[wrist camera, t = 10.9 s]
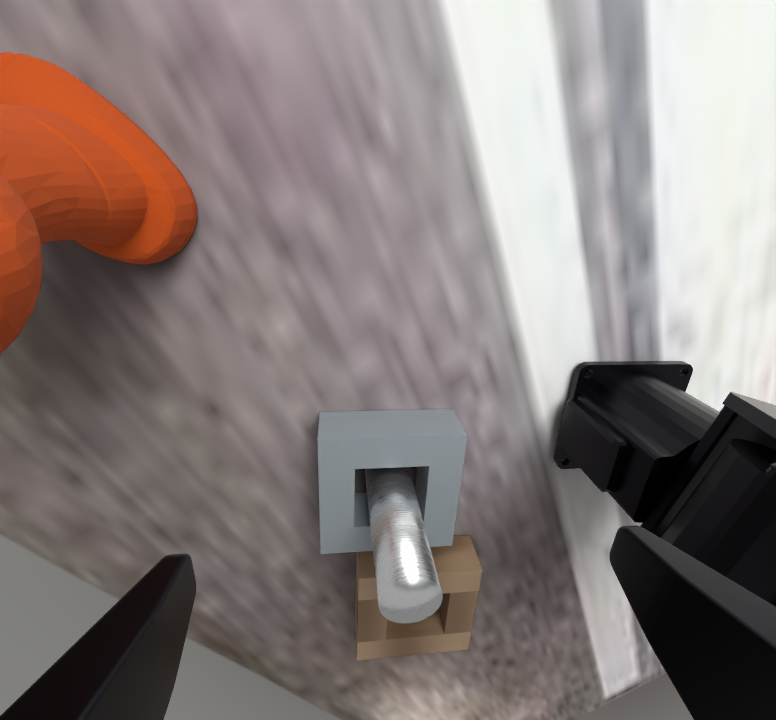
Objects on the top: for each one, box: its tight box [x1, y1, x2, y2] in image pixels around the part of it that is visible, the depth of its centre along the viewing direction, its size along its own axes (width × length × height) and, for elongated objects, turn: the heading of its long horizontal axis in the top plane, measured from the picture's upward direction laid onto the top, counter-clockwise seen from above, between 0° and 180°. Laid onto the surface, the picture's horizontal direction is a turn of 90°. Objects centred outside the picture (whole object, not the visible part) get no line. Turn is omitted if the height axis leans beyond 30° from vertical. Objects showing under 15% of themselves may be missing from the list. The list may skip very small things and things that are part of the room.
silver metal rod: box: [365, 467, 443, 623], centre depth 18 cm, size 2×2×8 cm
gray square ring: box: [318, 409, 468, 554], centre depth 21 cm, size 7×7×2 cm
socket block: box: [355, 535, 483, 661], centre depth 25 cm, size 7×7×2 cm
